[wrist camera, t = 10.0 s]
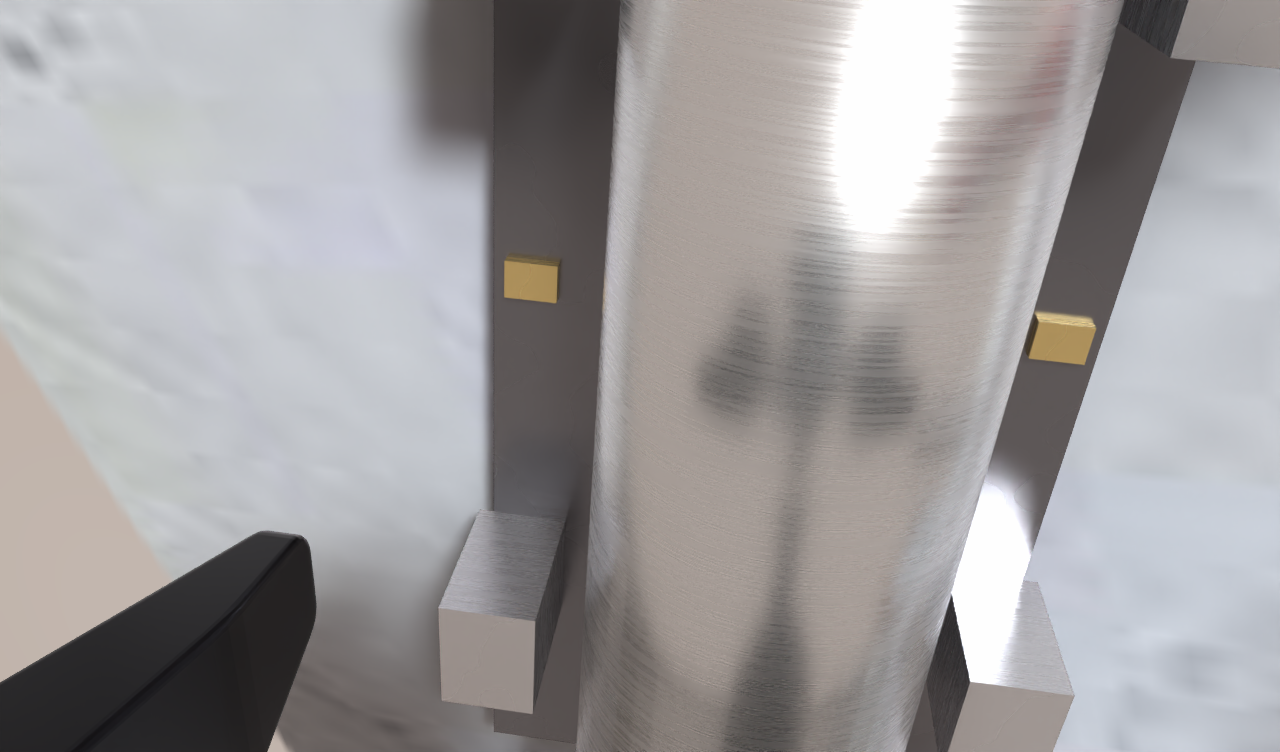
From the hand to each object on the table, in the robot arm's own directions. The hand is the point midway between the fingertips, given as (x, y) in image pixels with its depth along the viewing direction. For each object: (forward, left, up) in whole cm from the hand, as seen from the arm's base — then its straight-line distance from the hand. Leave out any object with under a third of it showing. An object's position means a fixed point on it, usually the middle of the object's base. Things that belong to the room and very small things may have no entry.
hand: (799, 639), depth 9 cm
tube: (0, 0, -7) cm, 7 cm away
